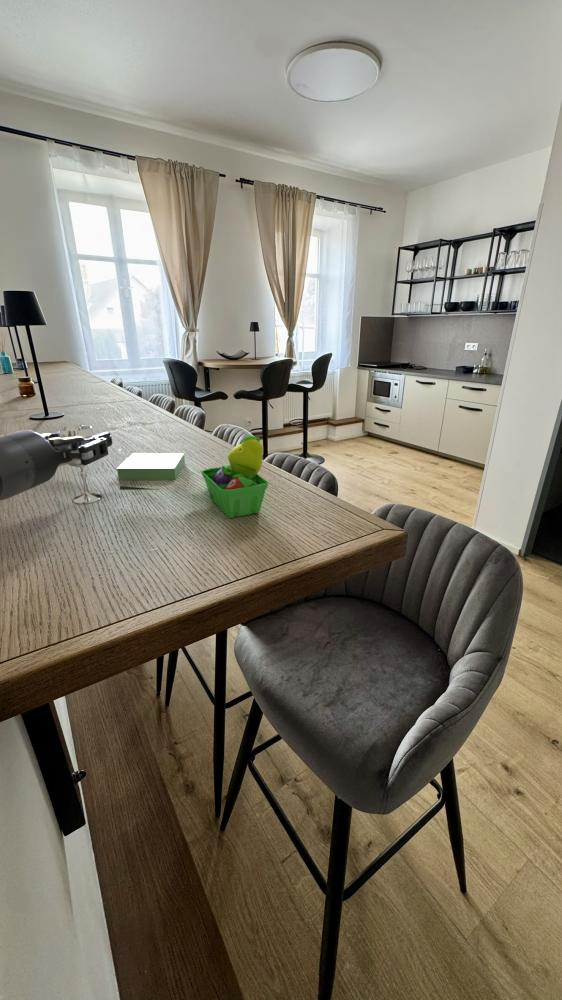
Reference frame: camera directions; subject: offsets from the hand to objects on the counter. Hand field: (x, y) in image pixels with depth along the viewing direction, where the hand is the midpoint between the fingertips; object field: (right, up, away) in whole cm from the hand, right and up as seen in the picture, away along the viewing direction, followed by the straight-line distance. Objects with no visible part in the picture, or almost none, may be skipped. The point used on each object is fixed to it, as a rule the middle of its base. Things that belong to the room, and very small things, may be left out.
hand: (89, 437), depth 68 cm
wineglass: (-1, -10, +2) cm, 10 cm away
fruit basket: (+24, -11, 0) cm, 27 cm away
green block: (+8, -7, +11) cm, 15 cm away
